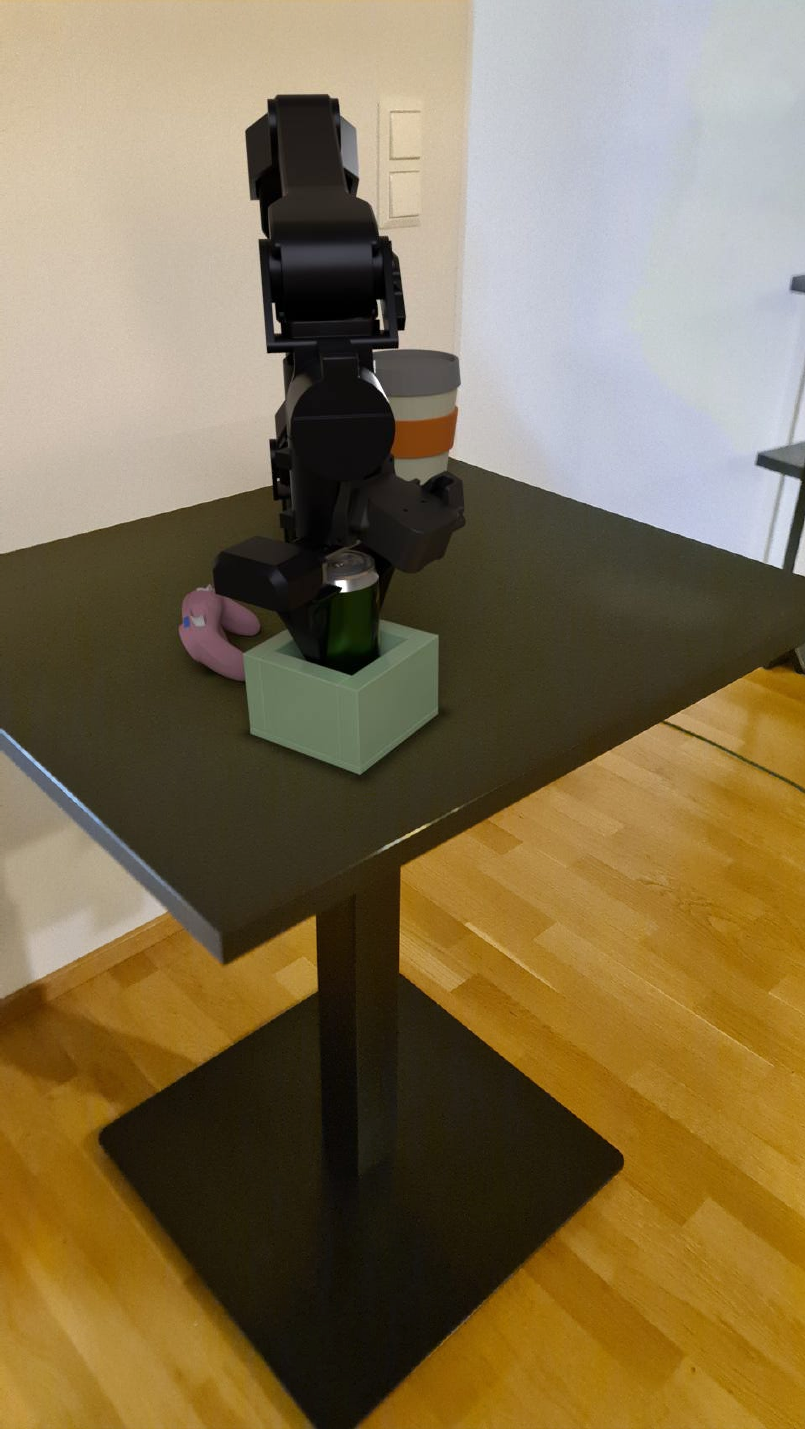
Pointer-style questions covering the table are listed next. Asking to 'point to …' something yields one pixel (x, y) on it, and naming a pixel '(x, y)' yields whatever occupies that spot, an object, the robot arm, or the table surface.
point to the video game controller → (215, 630)
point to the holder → (343, 697)
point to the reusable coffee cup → (420, 408)
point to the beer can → (353, 613)
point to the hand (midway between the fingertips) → (341, 652)
